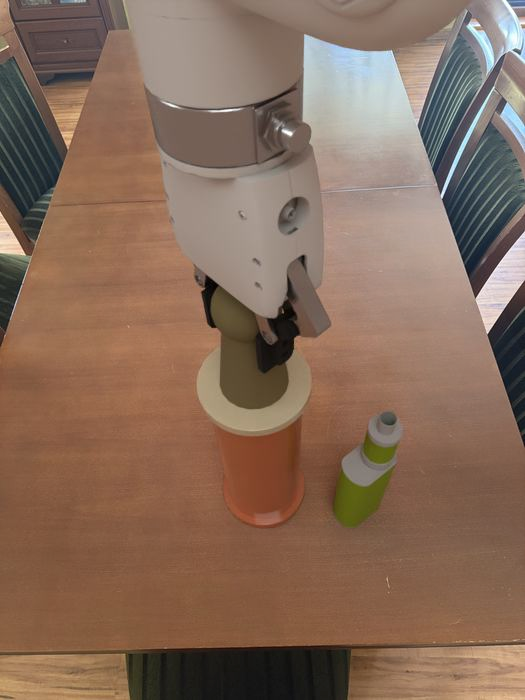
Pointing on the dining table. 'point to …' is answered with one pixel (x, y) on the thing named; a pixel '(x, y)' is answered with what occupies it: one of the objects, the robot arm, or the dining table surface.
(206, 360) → the column
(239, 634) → the dining table surface
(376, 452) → the vape
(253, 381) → the olive pawn
